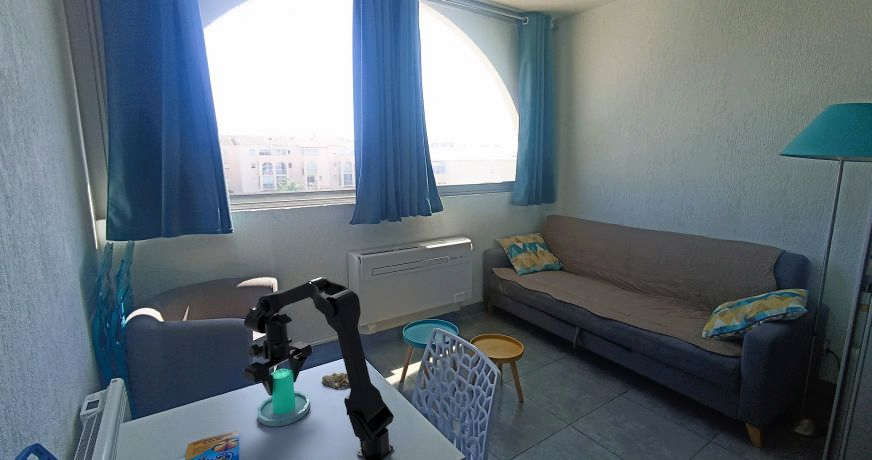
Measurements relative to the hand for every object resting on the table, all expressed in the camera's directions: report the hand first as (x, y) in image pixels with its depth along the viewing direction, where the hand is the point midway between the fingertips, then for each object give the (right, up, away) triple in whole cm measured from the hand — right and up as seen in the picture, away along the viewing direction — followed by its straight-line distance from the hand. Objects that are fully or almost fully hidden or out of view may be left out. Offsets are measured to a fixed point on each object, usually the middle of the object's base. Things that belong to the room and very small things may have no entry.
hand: (282, 388), depth 112 cm
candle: (0, -6, +1) cm, 6 cm away
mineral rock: (+12, -5, +16) cm, 21 cm away
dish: (0, -7, +1) cm, 7 cm away
